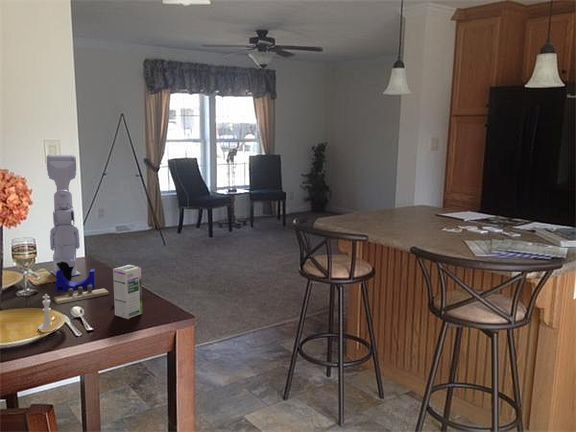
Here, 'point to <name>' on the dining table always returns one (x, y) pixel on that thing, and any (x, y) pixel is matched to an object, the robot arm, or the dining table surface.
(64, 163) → the robot arm
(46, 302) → the chess piece
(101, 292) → the coat hook rack
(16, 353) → the dining table surface
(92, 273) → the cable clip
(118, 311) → the syrup box
